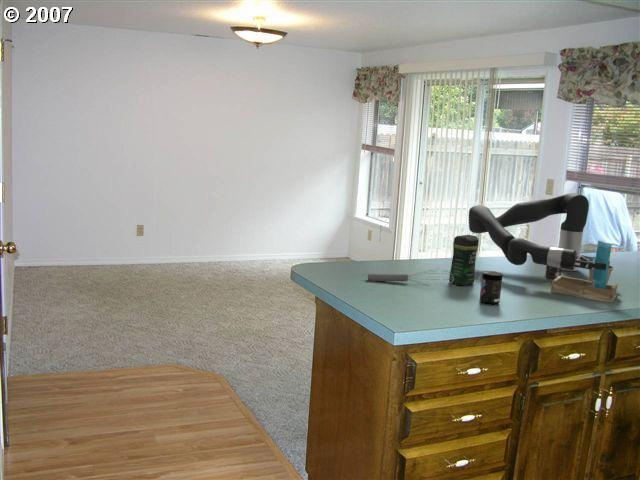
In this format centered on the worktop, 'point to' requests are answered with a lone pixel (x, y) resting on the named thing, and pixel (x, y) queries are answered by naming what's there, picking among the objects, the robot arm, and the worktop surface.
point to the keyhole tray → (583, 289)
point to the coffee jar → (464, 259)
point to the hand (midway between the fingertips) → (607, 265)
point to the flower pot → (607, 275)
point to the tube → (604, 258)
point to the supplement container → (491, 287)
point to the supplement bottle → (553, 272)
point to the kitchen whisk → (400, 277)
